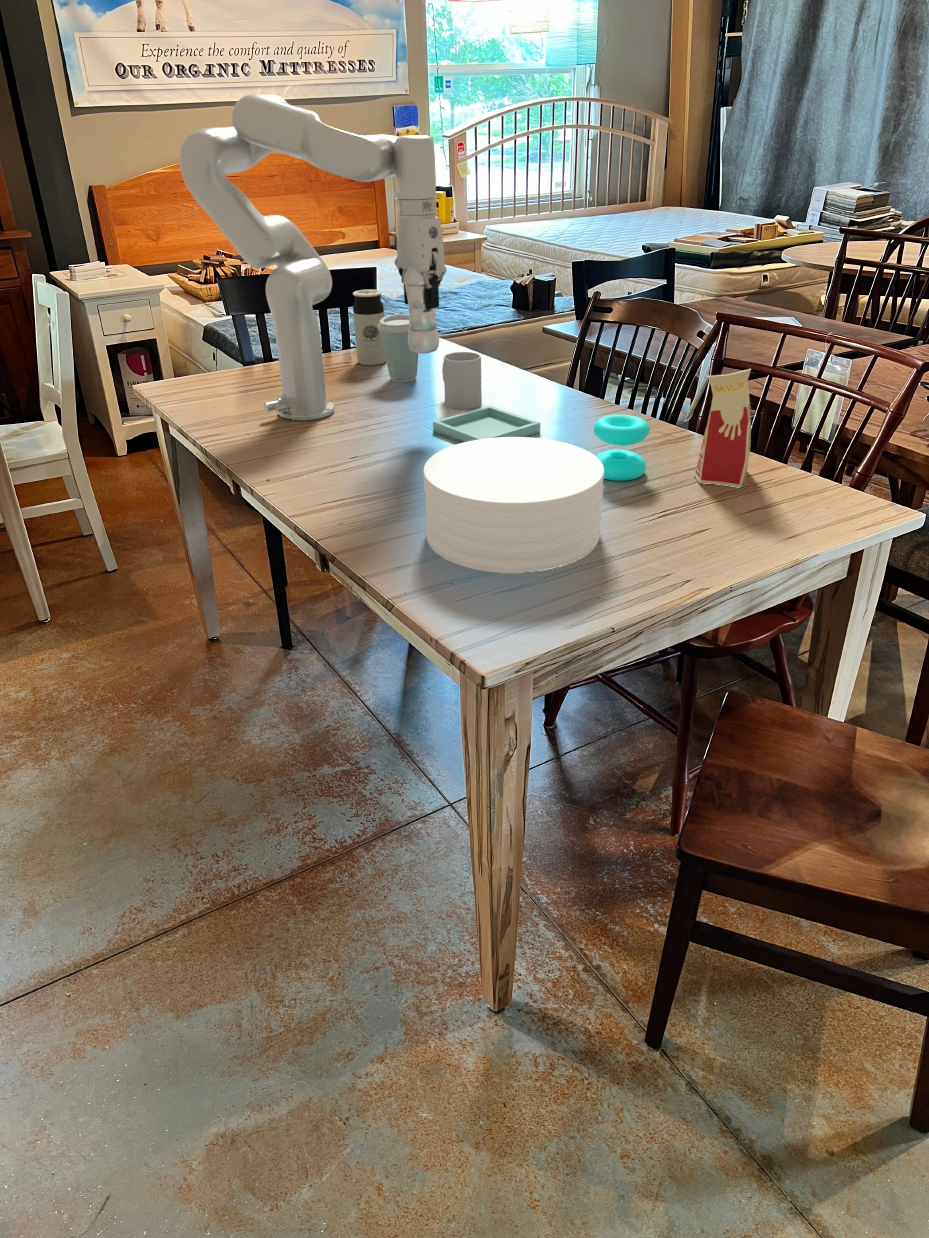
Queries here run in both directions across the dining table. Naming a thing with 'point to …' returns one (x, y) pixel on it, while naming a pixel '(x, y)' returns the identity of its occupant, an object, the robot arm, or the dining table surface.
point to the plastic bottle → (420, 315)
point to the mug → (462, 380)
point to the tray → (485, 425)
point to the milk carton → (726, 432)
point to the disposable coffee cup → (398, 348)
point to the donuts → (621, 433)
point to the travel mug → (368, 327)
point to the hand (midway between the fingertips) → (421, 305)
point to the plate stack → (513, 503)
